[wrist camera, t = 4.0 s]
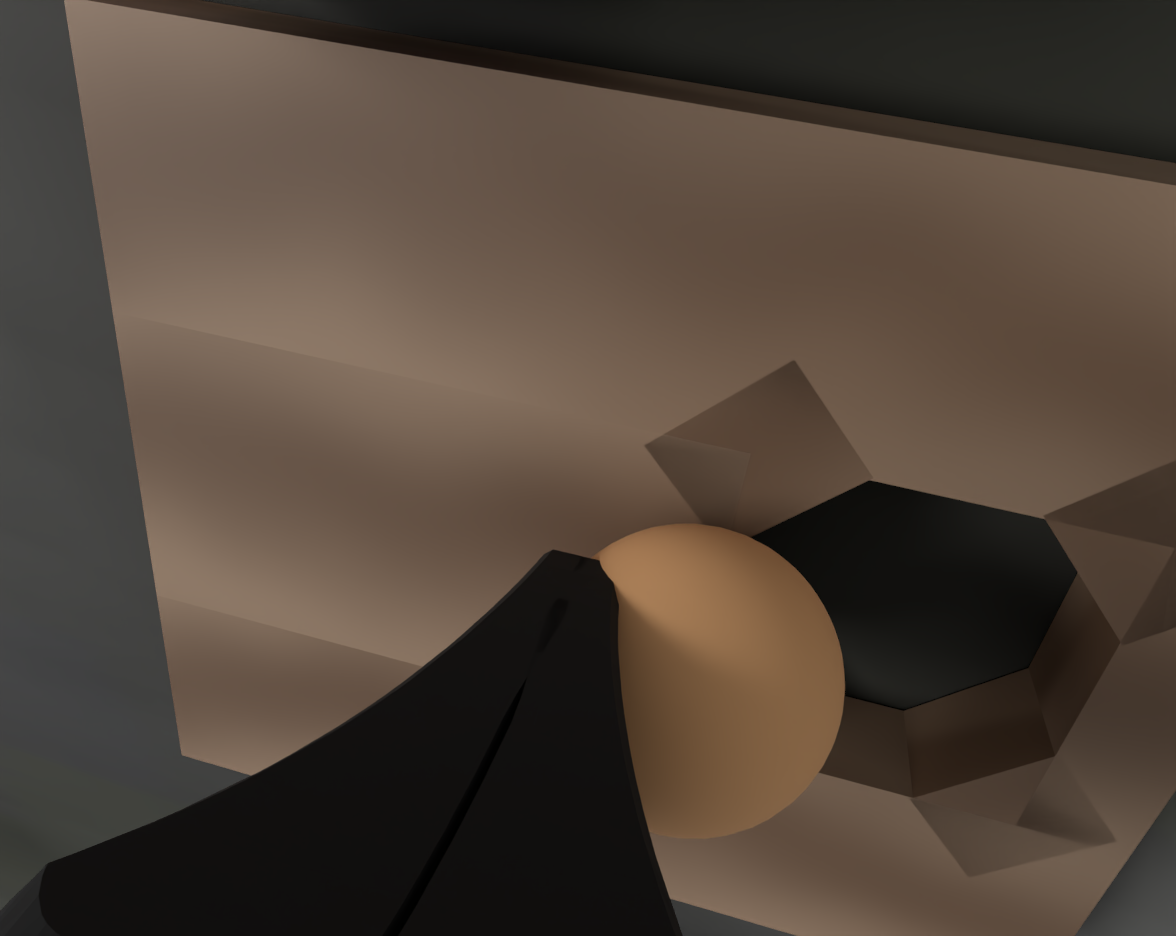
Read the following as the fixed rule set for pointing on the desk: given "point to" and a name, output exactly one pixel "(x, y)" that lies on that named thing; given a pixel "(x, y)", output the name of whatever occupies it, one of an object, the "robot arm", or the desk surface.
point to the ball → (721, 677)
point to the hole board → (638, 409)
